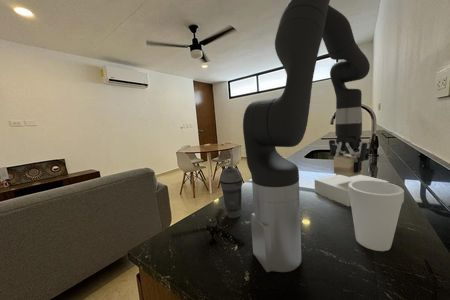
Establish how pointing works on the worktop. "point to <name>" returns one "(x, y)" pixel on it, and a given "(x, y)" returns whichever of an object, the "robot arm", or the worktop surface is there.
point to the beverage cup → (231, 190)
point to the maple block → (345, 165)
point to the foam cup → (375, 212)
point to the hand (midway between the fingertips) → (347, 170)
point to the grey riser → (339, 187)
